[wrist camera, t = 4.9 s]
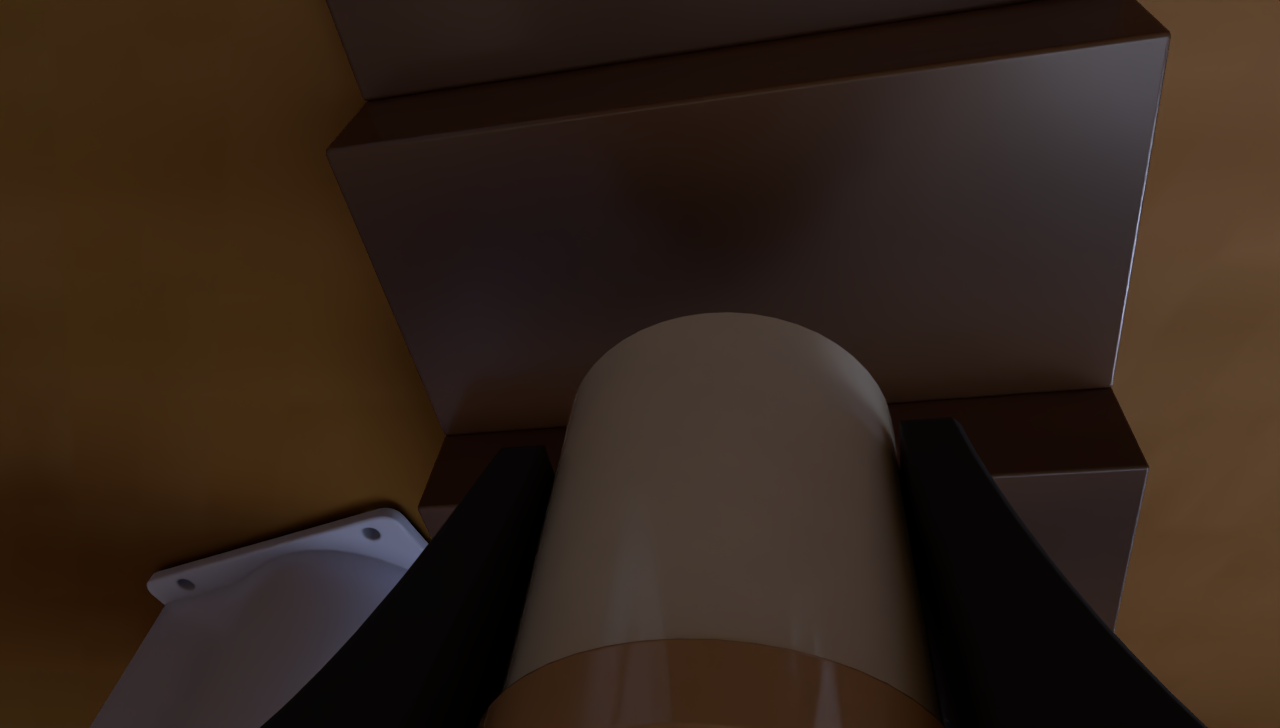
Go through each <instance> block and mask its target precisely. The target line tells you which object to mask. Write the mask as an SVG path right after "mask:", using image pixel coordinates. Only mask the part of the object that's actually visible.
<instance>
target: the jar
mask: <svg viewBox="0 0 1280 728" xmlns="http://www.w3.org/2000/svg"><path fill="white" fill-rule="evenodd" d="M478 728H945V726H944V721H943V715H942V709H941V703H940V697H939V692H938V686H937V680H936V674H935V668H934V663H933V657H932V651H931V645H930V640H929V634H928V628H927V622H926V616H925V611H924V605H923V599H922V593H921V587H920V582H919V576H918V570H917V564H916V558H915V553H914V547H913V541H912V535H911V530H910V524H909V518H908V512H907V506H906V501H905V495H904V489H903V483H902V477H901V472H900V466H899V460H898V454H897V448H896V443H895V437H894V431H893V425H892V420H891V415H890V412H889V409H888V405H887V402H886V400H885V398H884V396H883V394H882V392H881V390H880V388H879V386H878V384H877V383H876V382H875V380H874V379H873V378H872V376H871V375H870V373H869V372H868V371H867V370H866V369H865V368H864V367H863V366H862V365H861V364H860V363H859V362H858V361H857V360H856V359H855V358H854V357H853V356H852V355H851V354H850V353H848V352H847V351H846V350H844V349H843V348H842V347H840V346H839V345H838V344H836V343H835V342H833V341H831V340H830V339H828V338H826V337H824V336H823V335H821V334H819V333H817V332H815V331H813V330H810V329H808V328H805V327H803V326H801V325H798V324H796V323H792V322H789V321H785V320H782V319H778V318H775V317H769V316H764V315H758V314H752V313H738V312H713V313H701V314H694V315H687V316H682V317H678V318H674V319H670V320H667V321H663V322H660V323H657V324H655V325H652V326H650V327H647V328H645V329H642V330H640V331H638V332H636V333H635V334H633V335H631V336H629V337H627V338H626V339H624V340H622V341H621V342H620V343H618V344H617V345H616V346H614V347H613V348H611V349H610V350H609V351H607V352H606V353H605V354H604V355H603V356H602V357H601V358H600V359H599V360H598V361H597V362H596V363H595V364H594V365H593V367H592V368H591V369H590V371H589V372H588V373H587V375H586V376H585V377H584V379H583V380H582V382H581V384H580V386H579V388H578V390H577V392H576V394H575V398H574V401H573V404H572V407H571V411H570V415H569V419H568V423H567V427H566V431H565V435H564V439H563V444H562V448H561V452H560V456H559V460H558V464H557V468H556V472H555V476H554V480H553V484H552V489H551V493H550V497H549V501H548V505H547V509H546V513H545V517H544V521H543V525H542V529H541V534H540V538H539V542H538V546H537V550H536V554H535V558H534V562H533V566H532V570H531V574H530V579H529V583H528V587H527V591H526V595H525V599H524V603H523V607H522V611H521V615H520V620H519V624H518V628H517V632H516V636H515V640H514V644H513V648H512V652H511V656H510V660H509V665H508V669H507V673H506V677H505V681H504V685H503V689H502V693H501V694H500V695H499V696H498V697H497V698H496V699H495V700H494V701H493V702H492V703H491V705H490V706H489V707H488V709H487V711H486V712H485V714H484V715H483V717H482V719H481V720H480V722H479V725H478Z"/></svg>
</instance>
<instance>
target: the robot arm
mask: <svg viewBox="0 0 1280 728" xmlns="http://www.w3.org/2000/svg"><path fill="white" fill-rule="evenodd" d="M900 472H901V477H902V483H903V489H904V495H905V501H906V506H907V512H908V518H909V524H910V530H911V535H912V541H913V547H914V553H915V558H916V564H917V570H918V576H919V582H920V587H921V593H922V599H923V605H924V611H925V616H926V622H927V628H928V634H929V640H930V645H931V651H932V657H933V663H934V668H935V674H936V680H937V686H938V692H939V697H940V703H941V709H942V715H943V721H944V726H945V728H1207V727H1206V726H1205V725H1204V724H1203V723H1202V722H1201V721H1200V720H1199V719H1198V718H1197V717H1196V716H1195V715H1194V714H1193V713H1192V712H1191V711H1190V710H1189V709H1188V708H1186V707H1185V706H1184V705H1183V704H1182V703H1181V702H1180V701H1179V700H1178V699H1177V698H1176V697H1175V696H1174V695H1173V694H1172V693H1171V692H1170V691H1169V690H1168V689H1167V688H1166V687H1165V686H1164V685H1163V684H1162V683H1161V682H1160V681H1159V680H1158V679H1157V678H1156V677H1155V676H1154V675H1153V674H1152V673H1151V672H1150V671H1149V670H1148V669H1147V668H1146V667H1145V666H1144V665H1143V663H1142V662H1141V661H1140V660H1139V659H1138V658H1137V657H1136V656H1135V655H1134V654H1133V653H1132V652H1131V651H1130V650H1129V649H1128V648H1127V647H1126V646H1125V644H1124V643H1123V642H1122V641H1121V640H1120V639H1119V638H1118V637H1117V636H1116V635H1115V634H1114V632H1113V631H1112V630H1111V629H1110V628H1109V627H1108V626H1107V625H1106V624H1105V622H1104V621H1103V620H1102V619H1101V618H1100V617H1099V616H1098V614H1097V613H1096V612H1095V611H1094V610H1093V609H1092V607H1091V606H1090V605H1089V604H1088V603H1087V602H1086V600H1085V599H1084V598H1083V597H1082V596H1081V595H1080V593H1079V592H1078V591H1077V590H1076V589H1075V588H1074V586H1073V585H1072V584H1071V583H1070V582H1069V580H1068V579H1067V578H1066V577H1065V575H1064V574H1063V573H1062V572H1061V570H1060V569H1059V568H1058V567H1057V566H1056V564H1055V563H1054V562H1053V561H1052V559H1051V558H1050V557H1049V555H1048V554H1047V553H1046V551H1045V550H1044V549H1043V547H1042V546H1041V545H1040V543H1039V542H1038V541H1037V540H1036V538H1035V537H1034V536H1033V534H1032V533H1031V532H1030V530H1029V529H1028V528H1027V526H1026V525H1025V524H1024V522H1023V521H1022V520H1021V518H1020V517H1019V516H1018V514H1017V513H1016V511H1015V510H1014V509H1013V507H1012V506H1011V504H1010V503H1009V501H1008V500H1007V499H1006V497H1005V496H1004V494H1003V493H1002V491H1001V490H1000V488H999V487H998V485H997V484H996V482H995V481H994V479H993V478H992V476H991V475H990V473H989V472H988V470H987V468H986V467H985V465H984V464H983V462H982V460H981V459H980V457H979V455H978V454H977V452H976V451H975V449H974V447H973V445H972V444H971V442H970V440H969V438H968V436H967V435H966V433H965V431H964V429H963V427H962V425H961V424H960V423H959V422H958V421H957V420H955V419H954V418H953V417H945V418H930V419H916V420H901V421H900ZM554 476H555V474H554V471H553V468H552V465H551V462H550V459H549V456H548V453H547V450H546V447H545V445H533V446H518V447H504V448H500V450H499V451H498V452H497V453H496V454H495V456H494V457H493V458H492V460H491V461H490V462H489V464H488V465H487V466H486V468H485V469H484V470H483V472H482V473H481V474H480V476H479V477H478V478H477V480H476V481H475V482H474V484H473V485H472V486H471V488H470V489H469V491H468V492H467V493H466V495H465V496H464V497H463V499H462V500H461V501H460V503H459V504H458V505H457V507H456V508H455V509H454V511H453V512H452V514H451V515H450V516H449V518H448V519H447V520H446V522H445V523H444V524H443V526H442V527H441V528H440V530H439V531H438V532H437V533H436V535H435V536H434V537H433V539H432V540H431V541H430V542H429V544H428V543H427V542H426V540H425V539H424V538H423V537H422V536H421V535H420V534H419V532H418V531H417V530H416V529H415V528H414V527H413V526H412V524H411V523H410V522H409V521H408V520H407V519H406V518H405V516H404V515H402V514H401V513H400V512H399V511H397V510H394V509H391V508H379V509H376V510H372V511H369V512H365V513H362V514H358V515H355V516H351V517H348V518H344V519H341V520H337V521H334V522H330V523H327V524H323V525H320V526H316V527H313V528H309V529H306V530H302V531H299V532H295V533H292V534H288V535H285V536H281V537H277V538H274V539H270V540H267V541H263V542H260V543H256V544H253V545H249V546H246V547H242V548H239V549H235V550H232V551H228V552H225V553H221V554H218V555H214V556H211V557H207V558H204V559H200V560H197V561H193V562H190V563H186V564H183V565H179V566H176V567H172V568H169V569H165V570H162V571H158V572H156V573H154V574H153V575H152V576H151V578H150V579H149V581H148V583H147V588H148V591H149V592H150V593H151V594H152V595H153V596H154V597H156V598H157V599H158V600H159V601H160V602H162V603H163V604H164V605H165V606H164V608H163V609H162V611H161V613H160V614H159V616H158V618H157V619H156V621H155V622H154V624H153V626H152V627H151V629H150V631H149V632H148V634H147V635H146V637H145V639H144V640H143V642H142V643H141V645H140V647H139V648H138V650H137V652H136V653H135V655H134V656H133V658H132V660H131V661H130V663H129V665H128V666H127V668H126V669H125V671H124V673H123V674H122V676H121V678H120V679H119V681H118V682H117V684H116V686H115V687H114V689H113V691H112V692H111V694H110V695H109V697H108V699H107V700H106V702H105V703H104V705H103V707H102V708H101V710H100V712H99V713H98V715H97V716H96V718H95V720H94V721H93V723H92V725H91V726H90V728H478V725H479V722H480V720H481V719H482V717H483V715H484V714H485V712H486V711H487V709H488V707H489V706H490V705H491V703H492V702H493V701H494V700H495V699H496V698H497V697H498V696H499V695H500V694H501V693H502V689H503V685H504V681H505V677H506V673H507V669H508V665H509V660H510V656H511V652H512V648H513V644H514V640H515V636H516V632H517V628H518V624H519V620H520V615H521V611H522V607H523V603H524V599H525V595H526V591H527V587H528V583H529V579H530V574H531V570H532V566H533V562H534V558H535V554H536V550H537V546H538V542H539V538H540V534H541V529H542V525H543V521H544V517H545V513H546V509H547V505H548V501H549V497H550V493H551V489H552V484H553V480H554Z"/></svg>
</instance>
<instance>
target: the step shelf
mask: <svg viewBox="0 0 1280 728" xmlns="http://www.w3.org/2000/svg"><path fill="white" fill-rule="evenodd" d="M326 2H327V5H328V8H329V10H330V13H331V16H332V18H333V21H334V23H335V26H336V29H337V31H338V34H339V36H340V39H341V42H342V44H343V47H344V50H345V52H346V55H347V57H348V60H349V63H350V65H351V68H352V71H353V73H354V76H355V78H356V81H357V84H358V86H359V89H360V92H361V94H362V97H363V98H364V100H367V102H366V103H365V105H364V106H363V107H362V108H361V109H360V111H359V112H358V113H357V114H356V115H355V116H354V118H353V119H352V120H351V121H350V122H349V123H348V125H347V126H346V127H345V128H344V129H343V130H342V132H341V133H340V134H339V135H338V136H337V137H336V139H335V140H334V141H333V142H332V143H331V144H330V146H329V147H328V148H327V149H326V156H327V158H328V161H329V163H330V165H331V168H332V170H333V172H334V175H335V177H336V179H337V182H338V184H339V187H340V189H341V191H342V194H343V196H344V198H345V201H346V203H347V205H348V208H349V210H350V213H351V215H352V217H353V220H354V222H355V224H356V227H357V229H358V231H359V234H360V236H361V239H362V241H363V243H364V246H365V248H366V250H367V253H368V255H369V257H370V260H371V262H372V265H373V267H374V269H375V272H376V274H377V276H378V279H379V281H380V283H381V286H382V288H383V291H384V293H385V295H386V298H387V300H388V302H389V305H390V307H391V309H392V312H393V314H394V316H395V319H396V321H397V324H398V326H399V328H400V331H401V333H402V335H403V338H404V340H405V342H406V345H407V347H408V350H409V352H410V354H411V357H412V359H413V361H414V364H415V366H416V368H417V371H418V373H419V376H420V378H421V380H422V383H423V385H424V387H425V390H426V392H427V394H428V397H429V399H430V402H431V404H432V406H433V409H434V411H435V413H436V416H437V418H438V420H439V423H440V425H441V428H442V430H443V432H444V434H445V435H446V437H445V439H444V442H443V444H442V447H441V450H440V452H439V455H438V457H437V460H436V462H435V465H434V467H433V470H432V472H431V475H430V477H429V480H428V483H427V485H426V488H425V490H424V493H423V495H422V498H421V500H420V503H419V505H418V510H419V513H420V515H421V517H422V519H423V521H424V523H425V525H426V527H427V529H428V531H429V533H430V536H431V538H432V539H433V537H434V536H435V535H436V533H437V532H438V531H439V530H440V528H441V527H442V526H443V524H444V523H445V522H446V520H447V519H448V518H449V516H450V515H451V514H452V512H453V511H454V509H455V508H456V507H457V505H458V504H459V503H460V501H461V500H462V499H463V497H464V496H465V495H466V493H467V492H468V491H469V489H470V488H471V486H472V485H473V484H474V482H475V481H476V480H477V478H478V477H479V476H480V474H481V473H482V472H483V470H484V469H485V468H486V466H487V465H488V464H489V462H490V461H491V460H492V458H493V457H494V456H495V454H496V453H497V452H498V451H499V450H500V448H504V447H518V446H533V445H545V447H546V450H547V453H548V456H549V459H550V462H551V465H552V468H553V471H554V474H555V472H556V468H557V464H558V460H559V456H560V452H561V448H562V444H563V439H564V435H565V431H566V427H567V423H568V419H569V415H570V411H571V407H572V404H573V401H574V398H575V394H576V392H577V390H578V388H579V386H580V384H581V382H582V380H583V379H584V377H585V376H586V375H587V373H588V372H589V371H590V369H591V368H592V367H593V365H594V364H595V363H596V362H597V361H598V360H599V359H600V358H601V357H602V356H603V355H604V354H605V353H606V352H607V351H609V350H610V349H611V348H613V347H614V346H616V345H617V344H618V343H620V342H621V341H622V340H624V339H626V338H627V337H629V336H631V335H633V334H635V333H636V332H638V331H640V330H642V329H645V328H647V327H650V326H652V325H655V324H657V323H660V322H663V321H667V320H670V319H674V318H678V317H682V316H687V315H694V314H701V313H713V312H738V313H752V314H758V315H764V316H769V317H775V318H778V319H782V320H785V321H789V322H792V323H796V324H798V325H801V326H803V327H805V328H808V329H810V330H813V331H815V332H817V333H819V334H821V335H823V336H824V337H826V338H828V339H830V340H831V341H833V342H835V343H836V344H838V345H839V346H840V347H842V348H843V349H844V350H846V351H847V352H848V353H850V354H851V355H852V356H853V357H854V358H855V359H856V360H857V361H858V362H859V363H860V364H861V365H862V366H863V367H864V368H865V369H866V370H867V371H868V372H869V373H870V375H871V376H872V378H873V379H874V380H875V382H876V383H877V384H878V386H879V388H880V390H881V392H882V394H883V396H884V398H885V400H886V402H887V405H888V409H889V412H890V415H891V420H892V425H893V431H894V437H895V443H896V448H897V454H898V460H899V466H900V421H901V420H916V419H930V418H945V417H953V418H954V419H955V420H957V421H958V422H959V423H960V424H961V425H962V427H963V429H964V431H965V433H966V435H967V436H968V438H969V440H970V442H971V444H972V445H973V447H974V449H975V451H976V452H977V454H978V455H979V457H980V459H981V460H982V462H983V464H984V465H985V467H986V468H987V470H988V472H989V473H990V475H991V476H992V478H993V479H994V481H995V482H996V484H997V485H998V487H999V488H1000V490H1001V491H1002V493H1003V494H1004V496H1005V497H1006V499H1007V500H1008V501H1009V503H1010V504H1011V506H1012V507H1013V509H1014V510H1015V511H1016V513H1017V514H1018V516H1019V517H1020V518H1021V520H1022V521H1023V522H1024V524H1025V525H1026V526H1027V528H1028V529H1029V530H1030V532H1031V533H1032V534H1033V536H1034V537H1035V538H1036V540H1037V541H1038V542H1039V543H1040V545H1041V546H1042V547H1043V549H1044V550H1045V551H1046V553H1047V554H1048V555H1049V557H1050V558H1051V559H1052V561H1053V562H1054V563H1055V564H1056V566H1057V567H1058V568H1059V569H1060V570H1061V572H1062V573H1063V574H1064V575H1065V577H1066V578H1067V579H1068V580H1069V582H1070V583H1071V584H1072V585H1073V586H1074V588H1075V589H1076V590H1077V591H1078V592H1079V593H1080V595H1081V596H1082V597H1083V598H1084V599H1085V600H1086V602H1087V603H1088V604H1089V605H1090V606H1091V607H1092V609H1093V610H1094V611H1095V612H1096V613H1097V614H1098V616H1099V617H1100V618H1101V619H1102V620H1103V621H1104V622H1105V624H1106V625H1107V626H1108V627H1109V628H1110V629H1111V630H1112V631H1113V632H1114V630H1115V625H1116V620H1117V616H1118V611H1119V606H1120V602H1121V597H1122V592H1123V587H1124V583H1125V578H1126V573H1127V569H1128V564H1129V559H1130V555H1131V550H1132V545H1133V541H1134V536H1135V531H1136V527H1137V522H1138V517H1139V513H1140V508H1141V503H1142V498H1143V494H1144V489H1145V484H1146V480H1147V475H1148V470H1149V466H1148V464H1147V462H1146V459H1145V457H1144V455H1143V453H1142V451H1141V449H1140V447H1139V445H1138V443H1137V441H1136V439H1135V436H1134V434H1133V432H1132V430H1131V428H1130V426H1129V424H1128V422H1127V420H1126V418H1125V416H1124V413H1123V411H1122V409H1121V407H1120V405H1119V403H1118V401H1117V399H1116V397H1115V395H1114V393H1113V390H1112V388H1111V386H1112V385H1113V379H1114V373H1115V367H1116V361H1117V355H1118V349H1119V343H1120V337H1121V331H1122V325H1123V319H1124V313H1125V307H1126V301H1127V295H1128V289H1129V283H1130V277H1131V271H1132V265H1133V259H1134V253H1135V247H1136V241H1137V235H1138V229H1139V223H1140V217H1141V211H1142V205H1143V199H1144V194H1145V188H1146V182H1147V176H1148V170H1149V164H1150V158H1151V152H1152V146H1153V140H1154V134H1155V128H1156V122H1157V116H1158V110H1159V104H1160V98H1161V92H1162V86H1163V80H1164V74H1165V68H1166V62H1167V56H1168V50H1169V44H1170V38H1171V34H1170V31H1169V30H1168V29H1166V28H1165V27H1164V26H1163V25H1162V24H1161V23H1160V22H1159V21H1158V20H1157V19H1156V18H1155V17H1154V16H1153V15H1151V14H1150V13H1149V12H1148V11H1147V10H1146V9H1145V8H1144V7H1143V6H1142V5H1141V4H1140V3H1139V2H1138V1H1136V0H326Z"/></svg>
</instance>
